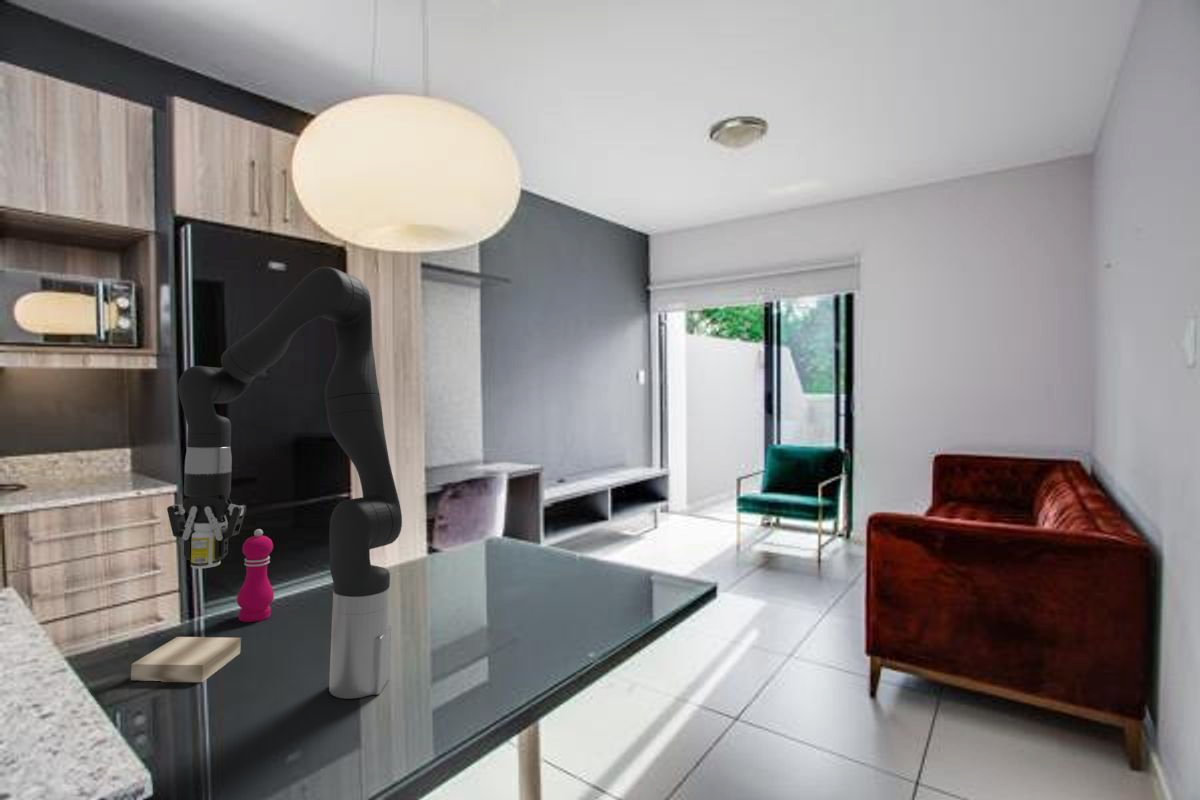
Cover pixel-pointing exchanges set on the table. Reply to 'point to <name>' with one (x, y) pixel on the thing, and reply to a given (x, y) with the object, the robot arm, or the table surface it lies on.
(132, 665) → the birch block
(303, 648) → the table surface
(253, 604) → the pepper mill
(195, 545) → the supplement bottle
